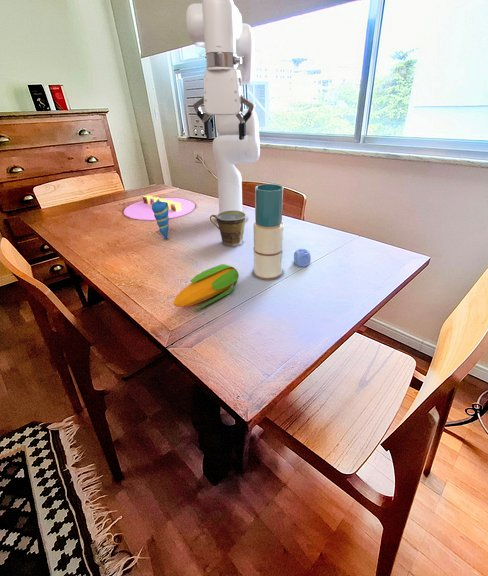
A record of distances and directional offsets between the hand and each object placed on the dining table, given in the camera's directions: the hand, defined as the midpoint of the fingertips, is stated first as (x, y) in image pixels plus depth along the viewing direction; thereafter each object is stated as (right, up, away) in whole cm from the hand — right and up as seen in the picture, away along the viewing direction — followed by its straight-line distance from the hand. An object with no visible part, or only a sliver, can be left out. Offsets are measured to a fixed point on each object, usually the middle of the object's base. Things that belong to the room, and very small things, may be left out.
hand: (225, 138), depth 84 cm
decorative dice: (+23, -35, +7) cm, 42 cm away
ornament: (-24, -25, +23) cm, 42 cm away
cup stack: (+12, -38, +3) cm, 40 cm away
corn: (-3, -45, -9) cm, 46 cm away
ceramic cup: (-1, -26, +21) cm, 34 cm away
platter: (-36, -5, +53) cm, 65 cm away
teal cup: (+12, -25, -6) cm, 28 cm away
